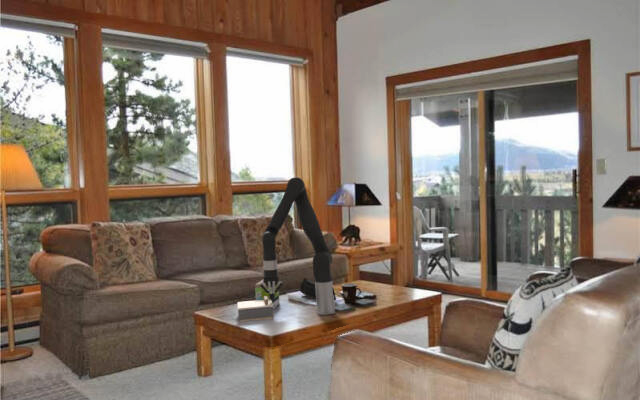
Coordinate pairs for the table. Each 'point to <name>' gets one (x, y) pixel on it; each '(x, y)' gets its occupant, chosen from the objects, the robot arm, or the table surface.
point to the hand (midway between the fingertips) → (272, 300)
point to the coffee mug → (350, 292)
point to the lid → (255, 304)
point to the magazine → (310, 288)
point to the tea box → (261, 293)
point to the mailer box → (256, 314)
